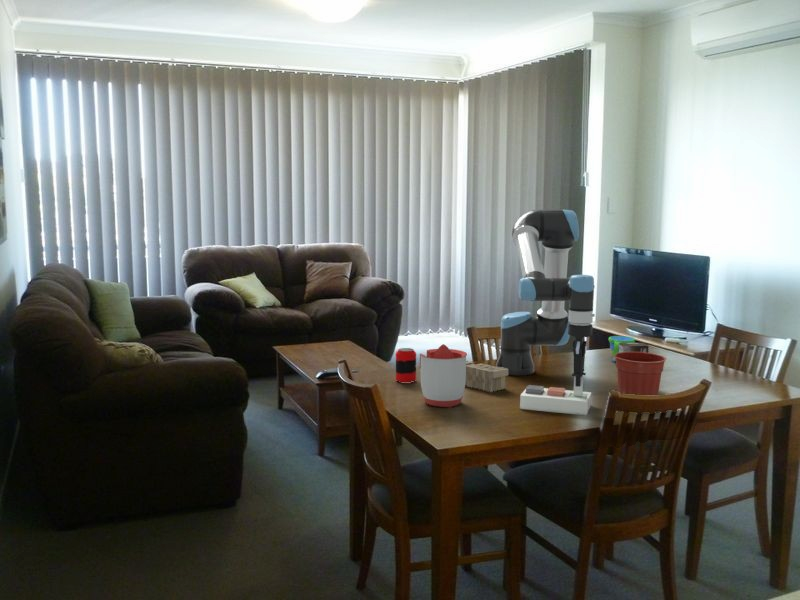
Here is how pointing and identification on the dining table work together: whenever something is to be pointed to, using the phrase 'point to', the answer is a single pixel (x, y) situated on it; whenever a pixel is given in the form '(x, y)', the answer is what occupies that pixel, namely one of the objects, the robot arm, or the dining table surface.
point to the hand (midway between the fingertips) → (578, 395)
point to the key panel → (556, 402)
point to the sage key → (578, 396)
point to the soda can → (405, 365)
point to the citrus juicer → (443, 376)
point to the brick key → (556, 391)
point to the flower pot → (639, 372)
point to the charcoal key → (535, 389)
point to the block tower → (485, 376)
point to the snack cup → (615, 344)
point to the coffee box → (633, 347)
